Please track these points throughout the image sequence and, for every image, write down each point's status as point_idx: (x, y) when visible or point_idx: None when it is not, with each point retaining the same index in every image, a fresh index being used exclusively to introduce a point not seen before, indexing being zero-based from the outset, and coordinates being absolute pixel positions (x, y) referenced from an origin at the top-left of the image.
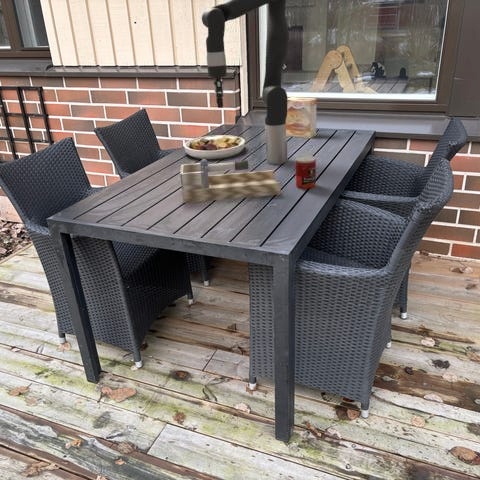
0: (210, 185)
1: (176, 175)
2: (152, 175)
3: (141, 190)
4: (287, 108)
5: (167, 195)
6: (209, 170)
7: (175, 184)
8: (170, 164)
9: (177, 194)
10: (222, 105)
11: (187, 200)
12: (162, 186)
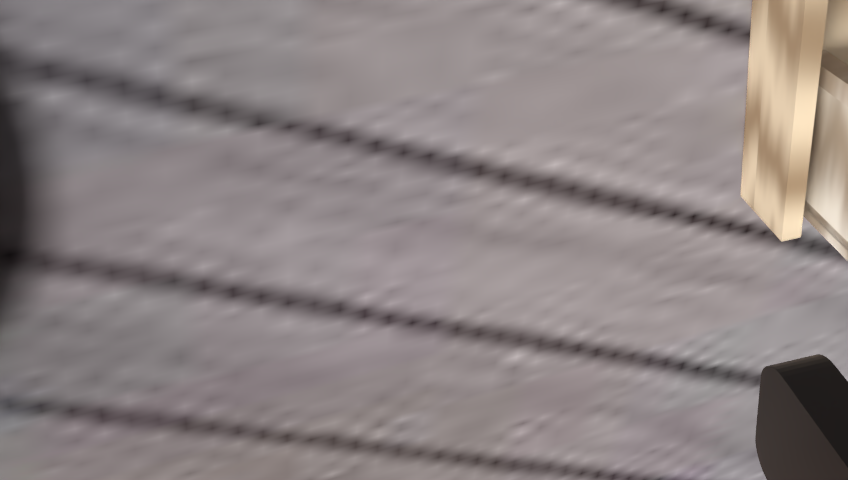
0: (839, 4)
1: (432, 318)
2: (416, 450)
3: (695, 415)
4: None
5: (837, 260)
6: None
7: (635, 271)
8: (155, 427)
9: None
10: (843, 396)
11: None
12: (655, 334)
